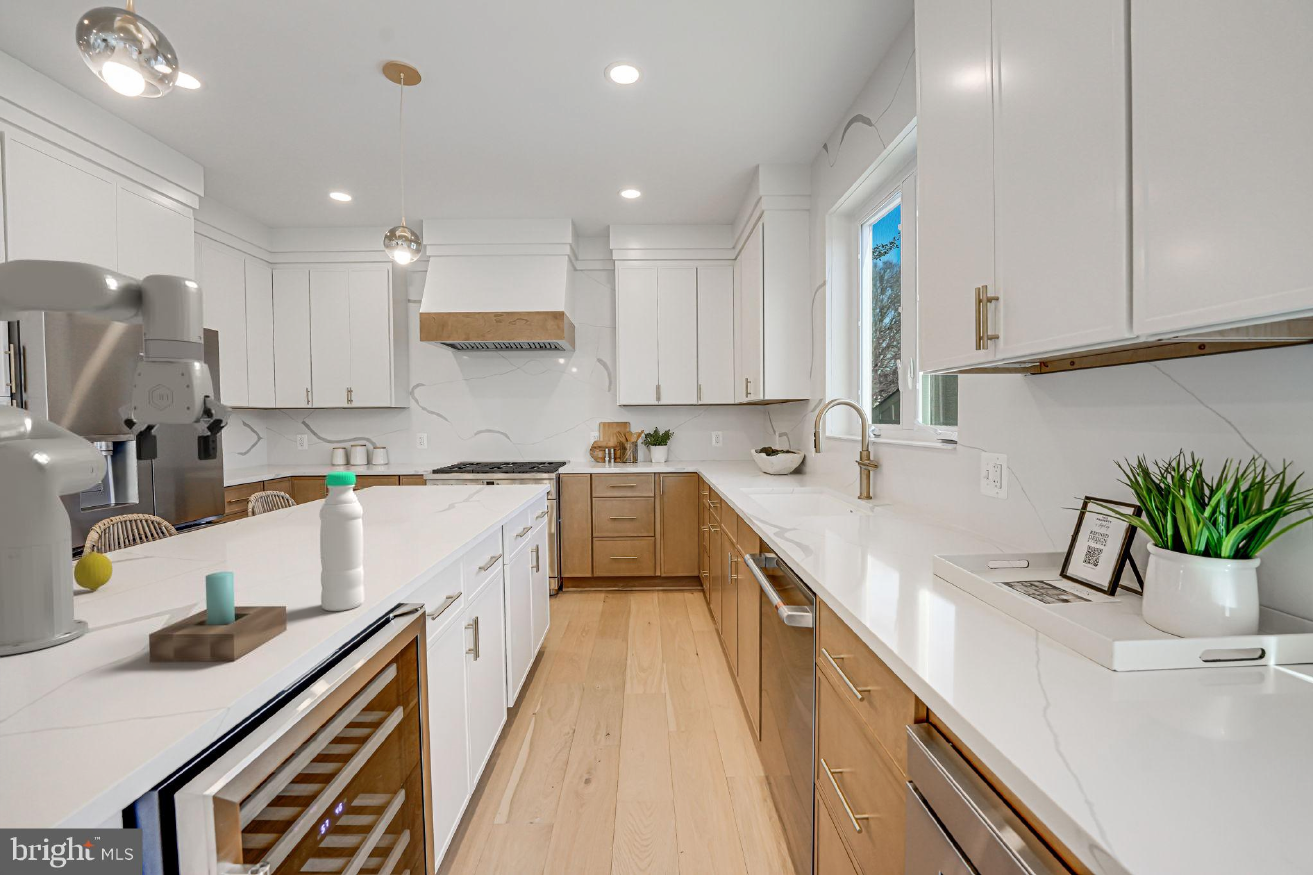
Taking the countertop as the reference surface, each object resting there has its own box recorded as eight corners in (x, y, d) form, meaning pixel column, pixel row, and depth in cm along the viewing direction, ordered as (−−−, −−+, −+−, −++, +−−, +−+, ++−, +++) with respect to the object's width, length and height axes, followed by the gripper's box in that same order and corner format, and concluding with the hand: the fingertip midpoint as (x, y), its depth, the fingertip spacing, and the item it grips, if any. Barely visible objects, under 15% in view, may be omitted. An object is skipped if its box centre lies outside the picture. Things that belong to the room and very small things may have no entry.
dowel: (202, 649, 86) (199, 577, 86) (218, 640, 89) (216, 571, 89) (224, 649, 86) (222, 577, 86) (240, 640, 90) (238, 571, 89)
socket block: (149, 661, 82) (149, 634, 82) (212, 630, 94) (212, 606, 94) (234, 661, 82) (233, 633, 82) (286, 629, 94) (286, 606, 94)
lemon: (117, 589, 116) (115, 550, 115) (79, 596, 111) (77, 556, 111) (108, 585, 119) (106, 547, 118) (70, 592, 114) (69, 552, 114)
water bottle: (345, 613, 102) (343, 475, 101) (311, 610, 103) (309, 474, 102) (372, 601, 109) (370, 471, 108) (340, 598, 110) (338, 470, 109)
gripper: (97, 351, 88) (101, 461, 89) (211, 352, 88) (213, 461, 89) (140, 356, 96) (143, 458, 96) (244, 357, 96) (247, 458, 97)
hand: (177, 459), depth 93 cm, fingers open, 9 cm apart
